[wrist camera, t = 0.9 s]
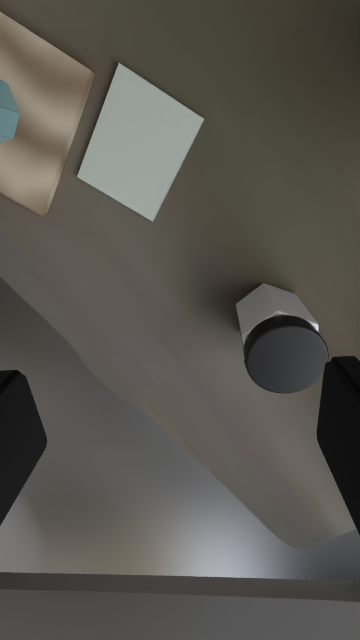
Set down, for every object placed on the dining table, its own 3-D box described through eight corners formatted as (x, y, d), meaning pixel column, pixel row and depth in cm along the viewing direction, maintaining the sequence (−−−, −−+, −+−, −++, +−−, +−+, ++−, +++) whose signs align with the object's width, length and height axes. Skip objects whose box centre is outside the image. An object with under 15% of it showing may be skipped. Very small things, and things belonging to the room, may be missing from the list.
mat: (120, 64, 32) (118, 62, 31) (203, 119, 33) (203, 118, 32) (78, 177, 36) (76, 177, 36) (153, 220, 38) (152, 221, 37)
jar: (224, 329, 43) (229, 379, 32) (247, 276, 40) (262, 312, 29) (283, 348, 44) (308, 405, 33) (311, 297, 40) (349, 342, 29)
